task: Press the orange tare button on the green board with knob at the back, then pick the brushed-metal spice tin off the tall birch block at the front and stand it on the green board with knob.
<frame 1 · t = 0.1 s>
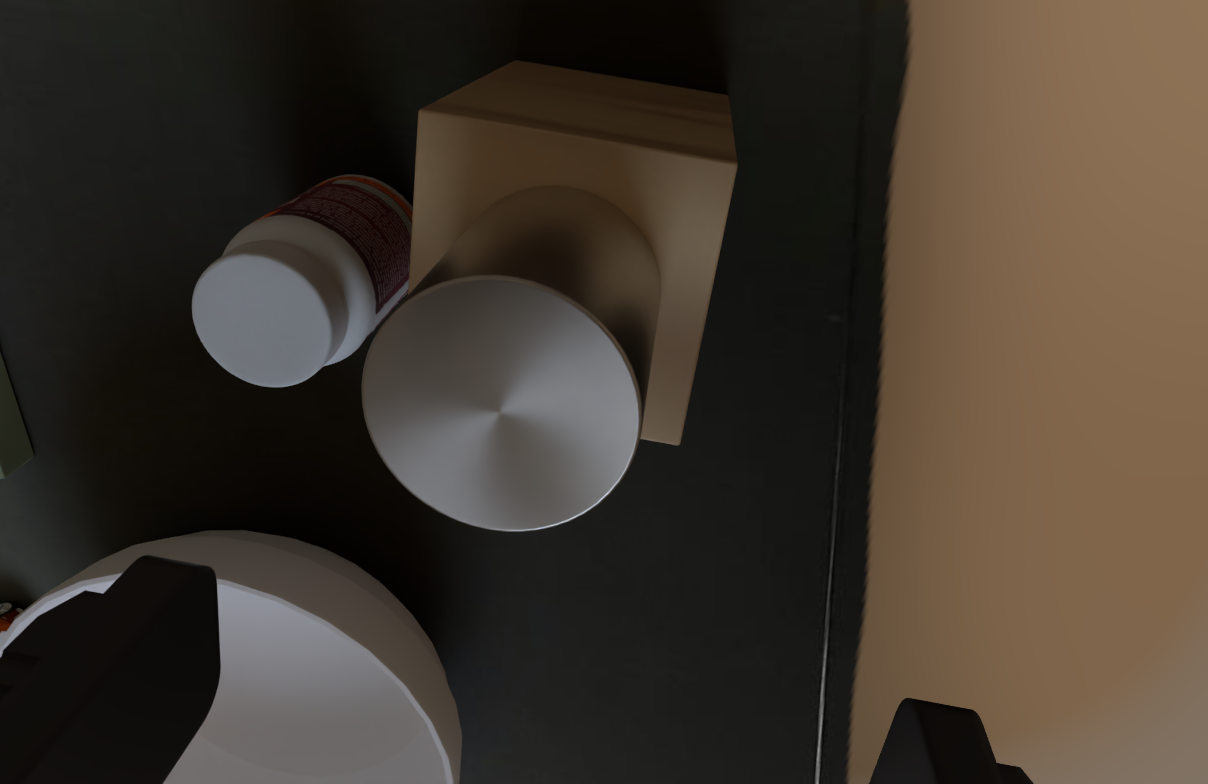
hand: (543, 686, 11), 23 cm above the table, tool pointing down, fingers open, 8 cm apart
pill bottle: (365, 238, 33), on the table
spice tin: (557, 288, 21), point 11 cm above the table, touching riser
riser: (605, 184, 31), on the table
bowl: (297, 640, 42), on the table
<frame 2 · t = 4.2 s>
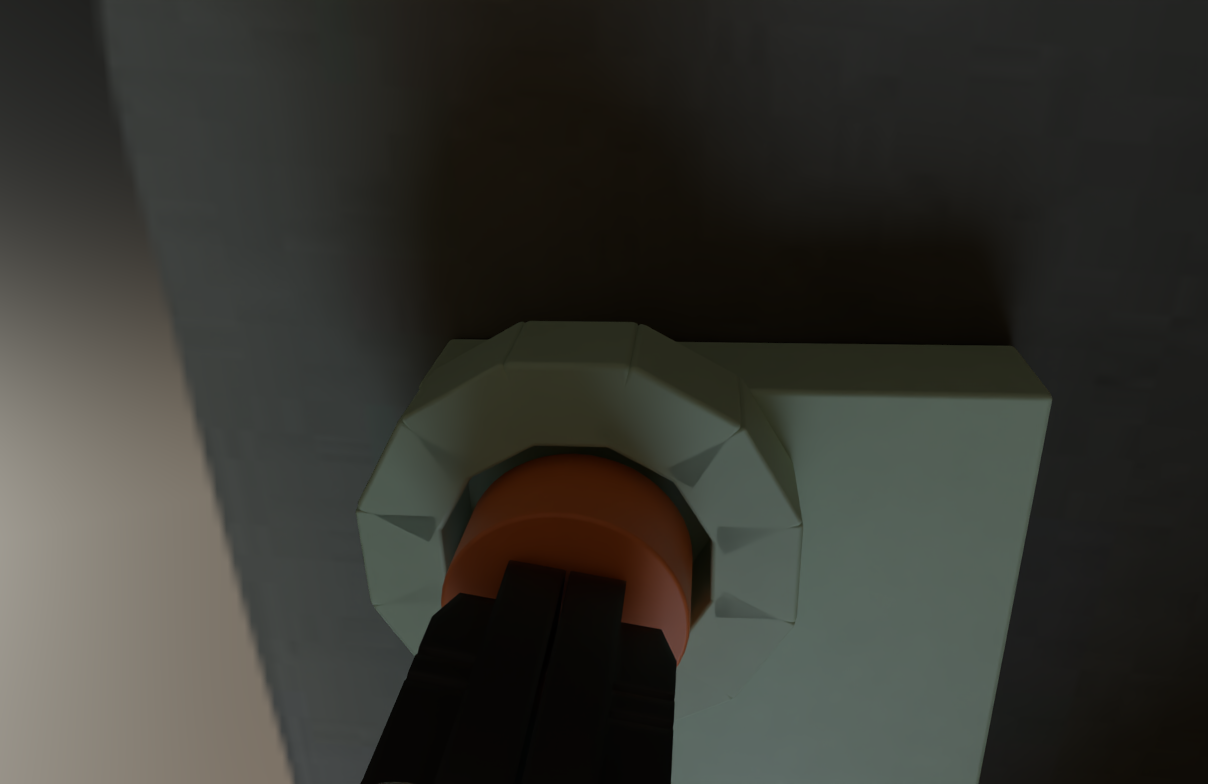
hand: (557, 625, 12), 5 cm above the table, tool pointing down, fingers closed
green board with knob: (715, 616, 17), on the table
tare button: (571, 584, 12), point 4 cm above the table, slide at 0.1 cm, touching gripper
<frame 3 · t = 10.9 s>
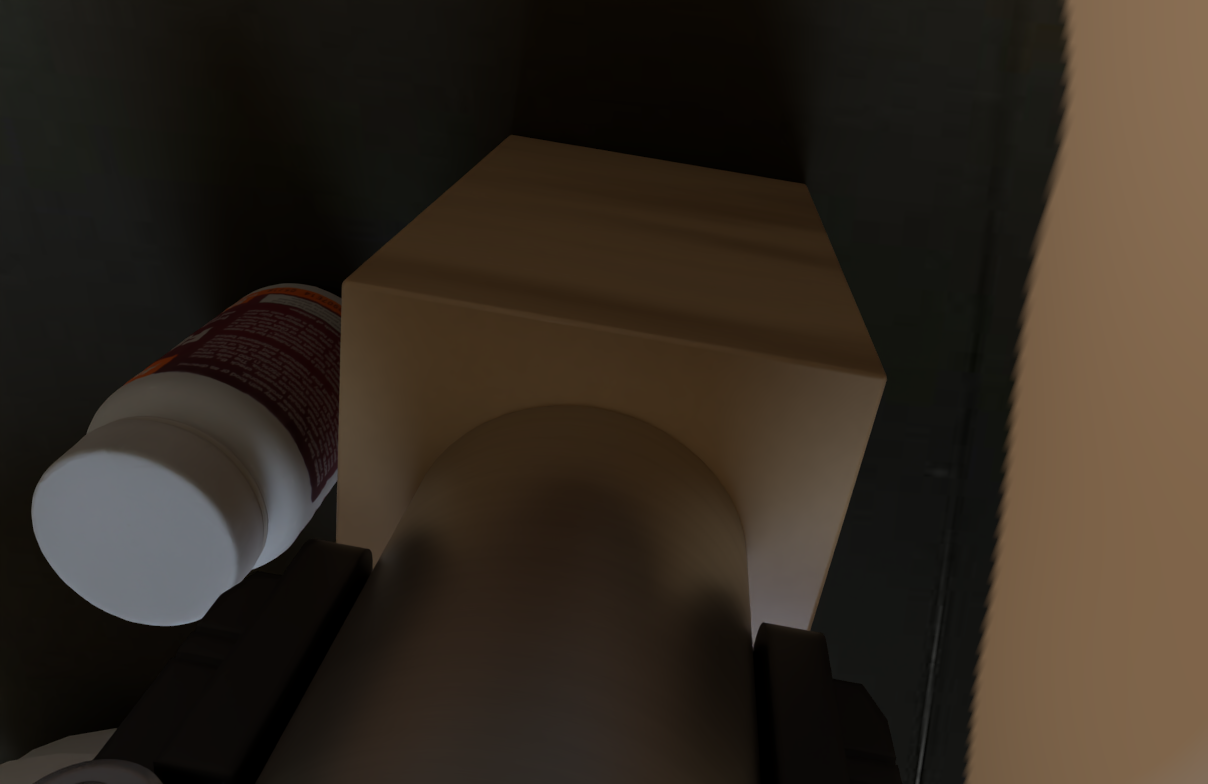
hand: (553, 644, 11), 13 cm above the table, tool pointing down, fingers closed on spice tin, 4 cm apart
pill bottle: (311, 361, 25), on the table
spice tin: (575, 555, 13), point 11 cm above the table, touching gripper, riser
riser: (633, 299, 23), on the table
when the fingers open (4 cm above the table, at t = 19.3 s): spice tin stays where it is, resting on green board with knob.
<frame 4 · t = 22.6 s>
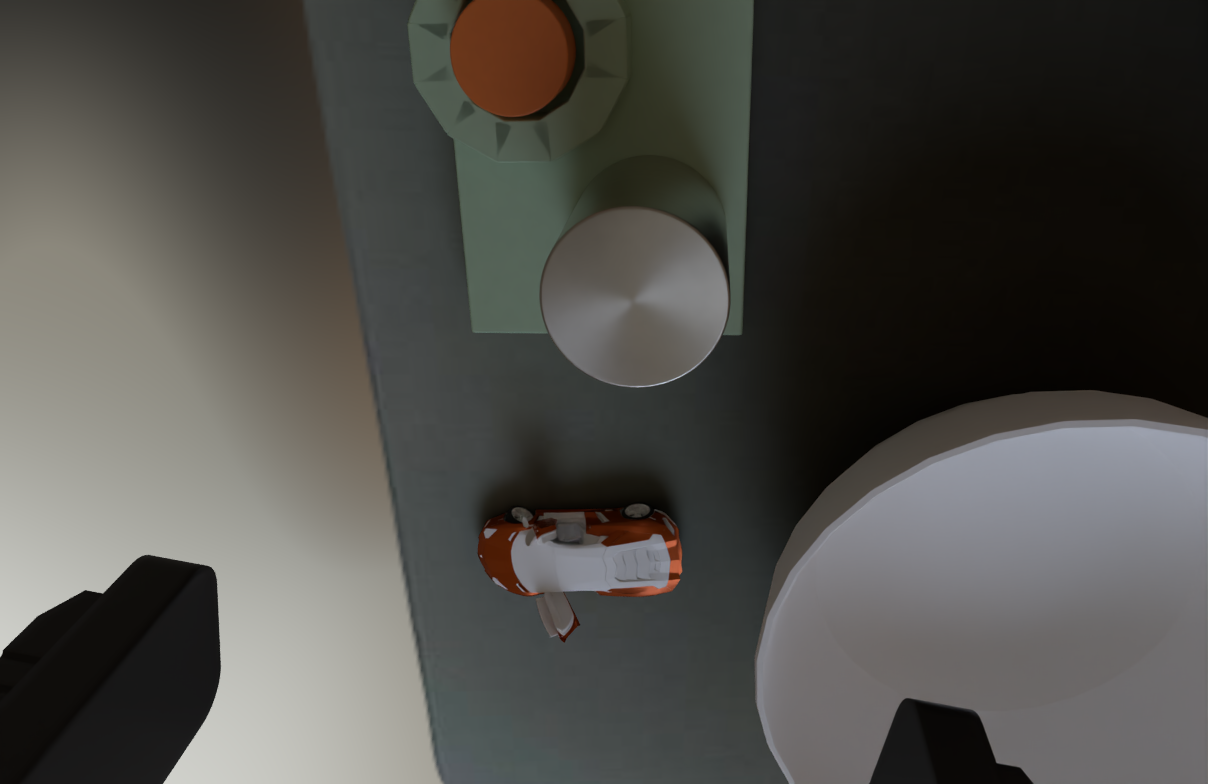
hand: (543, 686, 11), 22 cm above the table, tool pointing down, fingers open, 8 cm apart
toy car: (581, 539, 37), on the table
spice tin: (649, 232, 29), point 2 cm above the table, touching green board with knob
green board with knob: (605, 154, 30), on the table
bowl: (991, 547, 35), on the table
tare button: (514, 52, 25), point 4 cm above the table, slide at 0.1 cm
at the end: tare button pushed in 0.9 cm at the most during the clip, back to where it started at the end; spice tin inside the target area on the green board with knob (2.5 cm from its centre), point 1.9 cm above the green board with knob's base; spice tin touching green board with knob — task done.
